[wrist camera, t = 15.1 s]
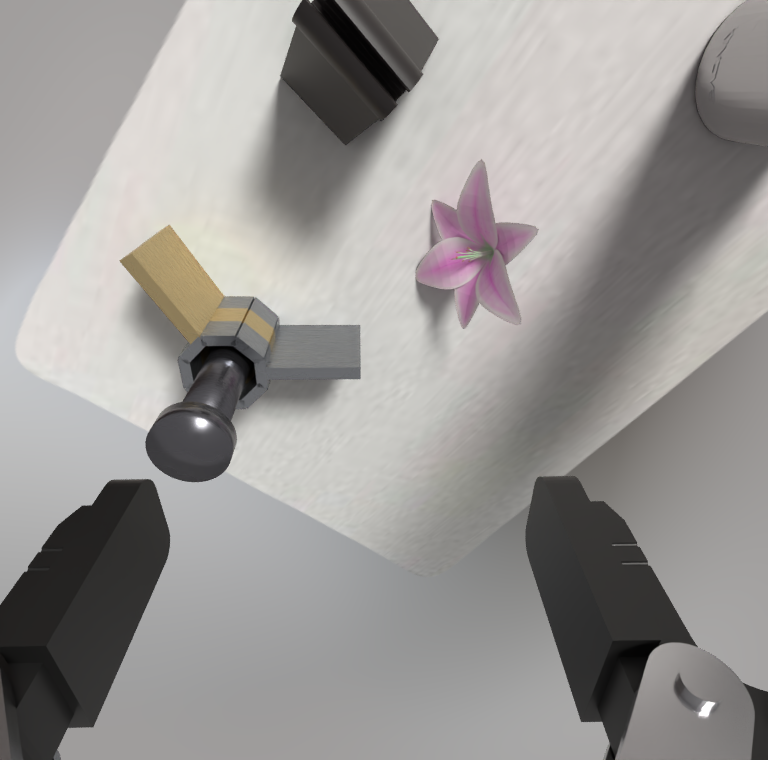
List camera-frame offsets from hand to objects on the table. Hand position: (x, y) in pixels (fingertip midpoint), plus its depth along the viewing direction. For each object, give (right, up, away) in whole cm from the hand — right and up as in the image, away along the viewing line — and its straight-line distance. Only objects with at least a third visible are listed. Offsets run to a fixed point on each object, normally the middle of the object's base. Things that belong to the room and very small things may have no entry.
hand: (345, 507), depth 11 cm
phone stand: (-1, +24, +23) cm, 34 cm away
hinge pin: (-11, +7, +32) cm, 35 cm away
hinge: (-9, +9, +31) cm, 34 cm away
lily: (+7, +14, +30) cm, 34 cm away
